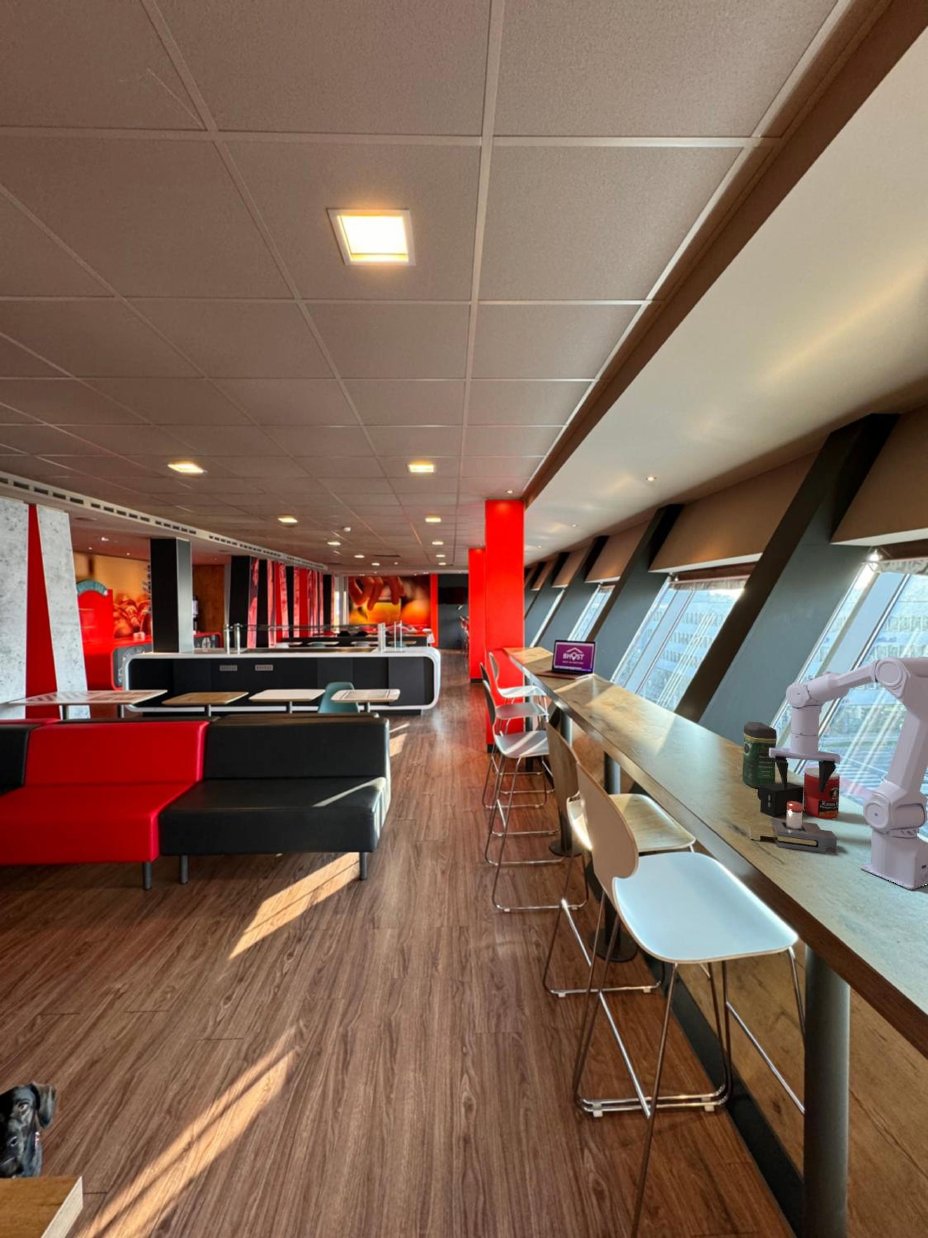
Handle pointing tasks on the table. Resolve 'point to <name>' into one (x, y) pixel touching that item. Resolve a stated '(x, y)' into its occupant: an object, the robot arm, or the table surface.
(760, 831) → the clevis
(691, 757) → the table surface
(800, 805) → the clear red-capped cylinder
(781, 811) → the digital camera
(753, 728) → the coffee jar
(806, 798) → the canned food
